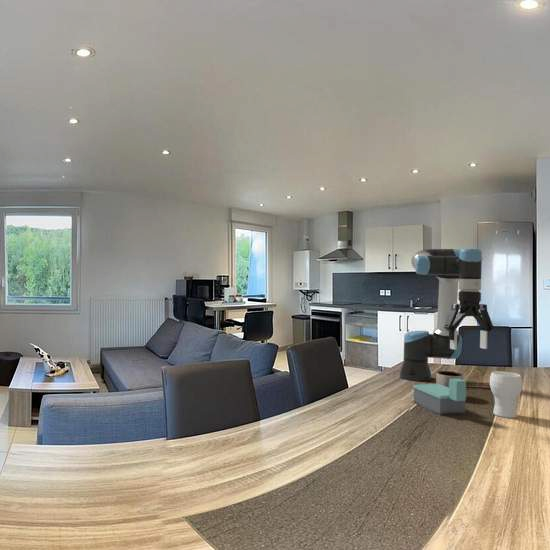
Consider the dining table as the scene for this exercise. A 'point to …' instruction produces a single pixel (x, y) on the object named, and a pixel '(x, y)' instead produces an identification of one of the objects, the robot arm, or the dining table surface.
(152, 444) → the dining table surface
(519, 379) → the cup
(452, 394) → the lid
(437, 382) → the planter
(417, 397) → the tub
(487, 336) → the robot arm
